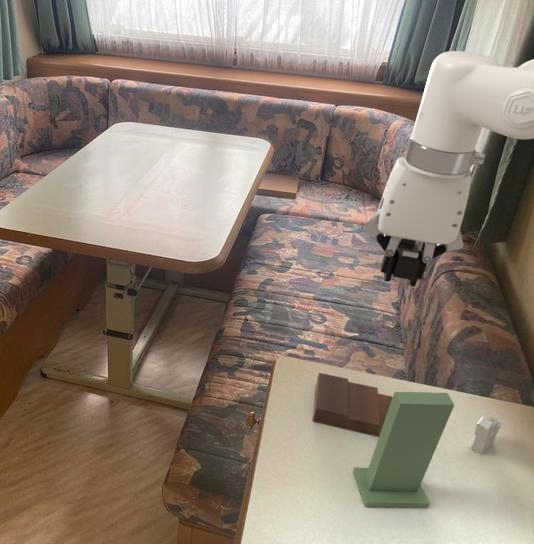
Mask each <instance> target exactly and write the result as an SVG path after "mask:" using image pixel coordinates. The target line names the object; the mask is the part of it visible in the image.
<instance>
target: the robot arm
mask: <svg viewBox="0 0 534 544" xmlns="http://www.w3.org/2000/svg"><path fill="white" fill-rule="evenodd" d="M501 64H502V63H501V62H500V61H499V60H498V59H496V58H494V57H493V56H491V55H487V54H483V53H478V52H472V51H463V50H449V51H444V52H442V53H440V54H438V56H436V57H435V59H434V60H433V62H432V64H431V67H430V70H429V74H428V77H427V81H426V84H425V87H424V91H423V93H422V98H421V101H420V105H419V108H418V112H417V114H416V115H417V116H416V119H415V122H414V126H413V129H412V133H411V137H410V140H409V143H408V147H407V150H406V153H405V156H401V157H398V158H397V160H396V162H395V164H394V165H393V168H392V170H391V172H390V174H389V177H388V180H387V182H386V185H385V188H384V190H383V194H382V196H381V199H380V202H379V205H378V208H377V211H376V212H375V213H374V214H373V215H372V216H371V217H370V219H368V221H367V222H366V223H365V224H364V225H363V232H364V233H365V234H366V235H367V236H369V237H370V238H371V239H373V240H376V242H377V243H378V245H379V246H380V247H381V249H382V250H383V251H384V254H383V258H382V260H381V264H380V273H383V280H384V282H385V283H389V282H391V280H392V278H393V273H392V272H393V269H394V266H395V263H396V249H397V246H398V244H399V242H400V240H401V238H404V239H410V240H416V242H421V244H420V245H421V247H420V249H419V250H418V252H419V257H420V263H419V266H418V269H417V272H416V275H415V278H414V280H408V284H409V286H410V287H414V288H416V285H417V282H418V280H422V279H423V277H424V274H425V271H426V267H427V265H428V264H429V263H431V262H432V260H433V259H435V258H437V257H439V256H441V255H443V254H445V253H446V252H448V253H449V252H453V251H457V250H458V251H459V250H461V249H463V248H464V242H463V236H462V232H461V226H462V223H463V220H464V216H465V211H466V207H467V203H468V200H469V194H470V188H471V184H472V183H471V182H472V171H471V167H473V166H474V165H475V166H476V165H483V164H484V162H485V158H486V154H485V153H480V152H479V151H477V150H476V148H477V144H478V142H479V138H480V136H481V133H482V130H483V128H484V129H487V130H489V131H492V132H493V133H497V134H499V135H502V136H505V137H508V138H510V139H516V140H533V139H534V58H533V59H530V60H528V61H525V62H523V63H522V64H520V65H519V66H516V67H513V66H512V67H510V66H502V65H501Z"/></svg>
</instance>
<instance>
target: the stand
mask: <svg viewBox="0 0 534 544" xmlns="http://www.w3.org/2000/svg"><path fill="white" fill-rule="evenodd" d="M392 397H393V398H392V401H391V404H390V407H389V410H388V412H387V415H386V418H385V421H384V424H383V427H382V430H381V433H380V436H379V437H378V438H377V441H376V444H375V448H374V450H373V453H372V456H371V459H370V462H369V465H368V467H359V466H357V467H353V470H352V473H353V477H354V480H355V482H356V485H357V488H358V491H359V494H360V496H361V500H362V502H363V505H364V507H365V508H411V509H412V508H414V509H415V508H416V509H417V508H418V509H422V508H423V509H428V508H429V506H430V504H431V503H430V501H429V499H428V497H427V494H426V491H425V490H424V488H423V486H422V482H423V480H424V478H425V475H426V473H427V470H428V468H429V465H430V464H431V461H432V459H433V456H434V454H435V452H436V449H437V447H438V444H439V442H440V440H441V438H442V436H443V434H444V431H445V428H446V426H447V424H448V421H449V419H450V416H451V415H452V412H453V409H454V408H455V407H454V406H455V404H454V402H453V400H452V399H451V397H450V395H449V393H448V392H429V391H428V392H427V391H426V392H425V391H394V392H393V396H392Z"/></svg>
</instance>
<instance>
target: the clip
mask: <svg viewBox="0 0 534 544" xmlns="http://www.w3.org/2000/svg"><path fill="white" fill-rule="evenodd" d="M416 242H417V241H416V240H410V239H404V238H401V239H400V242H399V244H398V246H397V249H396V263H395V266H394V269H393V272H392V273H393V274H392V278H399V279H403V280H408V281H409V280H414V278H415V275H416V272H417V269H418V266H419V263H420V257H419V252H418V251H419V247H418V243H416Z"/></svg>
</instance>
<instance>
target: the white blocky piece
mask: <svg viewBox="0 0 534 544" xmlns="http://www.w3.org/2000/svg"><path fill="white" fill-rule="evenodd" d="M502 425H503V423H502V422H501V421H499V420H498V419H497V418H494V417H492V416H490V417H489V418H488V419H487V418H485V417H484V416H482V417H480V419H479V420H478V421H477V423H476V427H475V431H474V436H475V437H474V439H473V441H472V444H471V446H470V449H471V450H473V451H474V452H475V453H478V454H479V455H482V454H484V453H485V451H487V449H488V448H490V446H491V445H492V444H493V443H494V440H495V438H496V437H497V434H498V432H499V430H500V428H501V426H502Z"/></svg>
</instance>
